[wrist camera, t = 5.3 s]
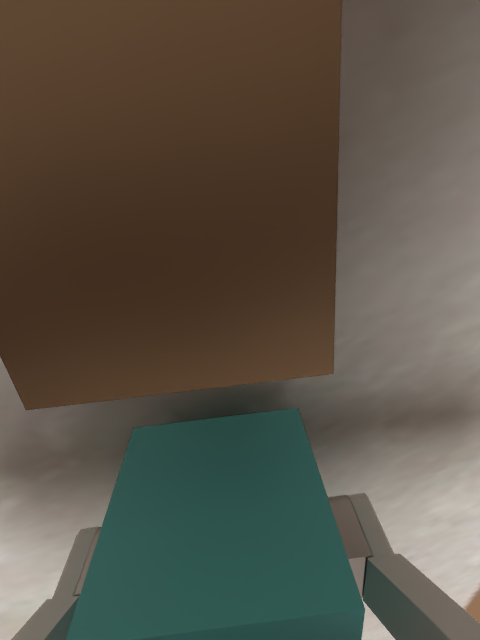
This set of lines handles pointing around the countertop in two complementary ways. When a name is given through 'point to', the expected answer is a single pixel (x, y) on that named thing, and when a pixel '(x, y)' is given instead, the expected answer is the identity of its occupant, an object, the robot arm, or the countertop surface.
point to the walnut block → (166, 194)
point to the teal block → (219, 539)
